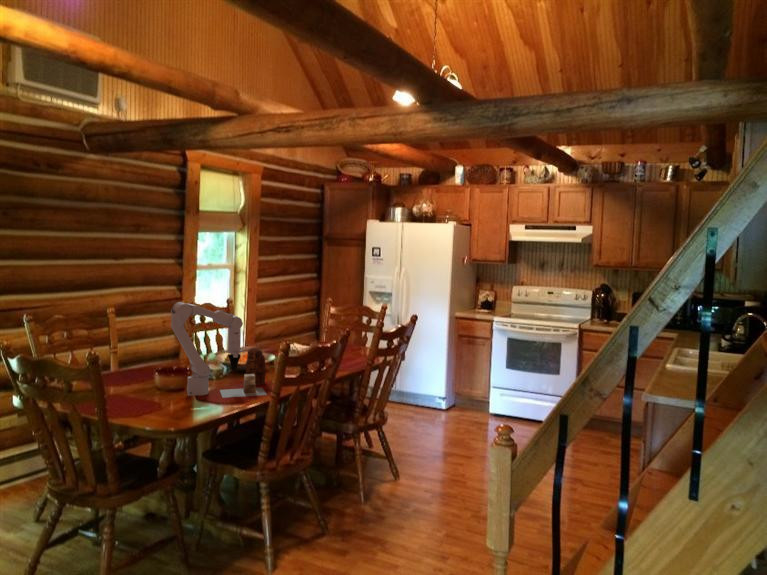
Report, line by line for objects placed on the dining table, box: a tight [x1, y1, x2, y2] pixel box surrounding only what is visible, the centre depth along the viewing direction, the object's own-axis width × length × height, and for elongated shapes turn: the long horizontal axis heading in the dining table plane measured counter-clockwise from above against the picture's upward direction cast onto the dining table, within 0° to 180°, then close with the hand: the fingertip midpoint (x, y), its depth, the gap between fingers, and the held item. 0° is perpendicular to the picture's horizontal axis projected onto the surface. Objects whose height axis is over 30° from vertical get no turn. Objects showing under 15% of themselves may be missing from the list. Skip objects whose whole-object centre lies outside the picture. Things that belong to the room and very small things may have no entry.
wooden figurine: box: [245, 347, 266, 386], centre depth 309 cm, size 12×6×18 cm, turn 63°
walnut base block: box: [242, 383, 257, 394], centre depth 291 cm, size 5×5×4 cm
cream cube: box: [243, 373, 255, 385], centre depth 290 cm, size 4×4×4 cm
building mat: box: [219, 387, 268, 399], centre depth 290 cm, size 20×14×1 cm
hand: (233, 369), depth 294 cm, fingers closed
